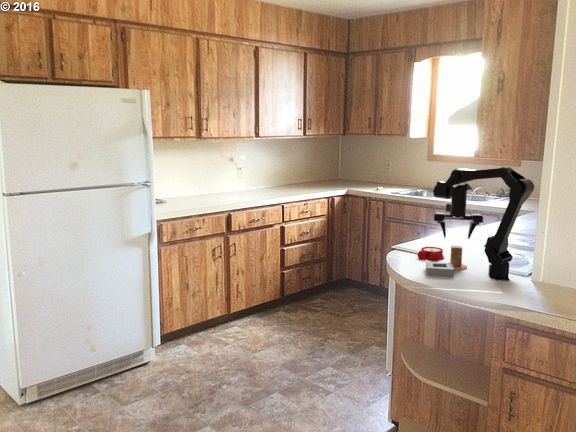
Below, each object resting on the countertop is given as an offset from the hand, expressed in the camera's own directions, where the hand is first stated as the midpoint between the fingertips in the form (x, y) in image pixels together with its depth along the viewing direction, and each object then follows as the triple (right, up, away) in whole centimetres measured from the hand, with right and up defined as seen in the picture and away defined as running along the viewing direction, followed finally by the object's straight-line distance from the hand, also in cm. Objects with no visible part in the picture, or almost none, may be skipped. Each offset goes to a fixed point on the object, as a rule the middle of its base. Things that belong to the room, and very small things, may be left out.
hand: (456, 238), depth 214 cm
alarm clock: (-6, -10, +18) cm, 22 cm away
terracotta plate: (0, -12, +2) cm, 13 cm away
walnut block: (0, -11, +2) cm, 12 cm away
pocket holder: (-9, -14, -6) cm, 17 cm away
